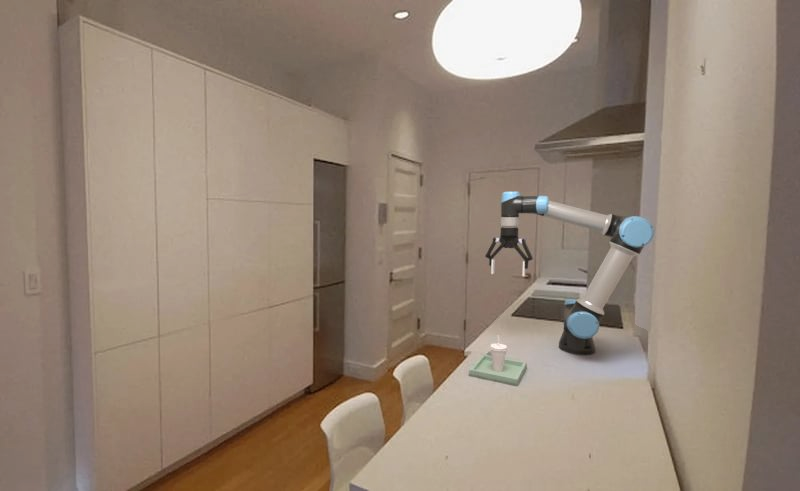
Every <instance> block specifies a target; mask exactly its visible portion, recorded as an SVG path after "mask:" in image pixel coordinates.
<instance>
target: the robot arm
mask: <svg viewBox="0 0 800 491" xmlns="http://www.w3.org/2000/svg"><path fill="white" fill-rule="evenodd" d="M500 204H501V206H500V208H501V209H500V211H501V212H500V226H501V227H500V235H499V236H500V237H497V236H496V237H493V239H492V243H491V244H490V247H489V248H488V250H487V251H486V254H485V258H486V259H488V260H489V264H488V265H489V267H491V269H490V272H491V273H490V274H491V275H494V274H495V271H496V270H495V267H496V264H495V263H496V259H495V256H496V255H497V254H499V252H500V251H501V250H502V249H503V248H504V249H514V250H515V251H516V252H517V253H518V254H519V256H520V257H521V258H522V259H523V261H522V275H521V276H522V277H526V270H527V269H528V268H529V261H533V259H534V258H533V255H532V253H531V251H530V249H529V247H528V245H527V242H526V240H527V238H525V237H524V238H519V221H520V219H519V218H520V217H519V216H520V214H528V215H529V214H532V215H537V216H541V217H544V218H545V217H546V218H549V219H553V220H556V221H560V222H563V223H568V224H571V225H574V226H578V227H582V228H585V229H590V230H593V231H596V232H600V233H601V234H602V236H606V237H609V238H611V239H610V240H609V245H610V248H609V250H608V252H607V254H606V256H605V257H604V259H603V261H602V263H601V264H600V266H599V268H598V270H597V272H596V273H595V275H594V277H593V278H592V280H591V282H590V284H589V286H588V288H587V289H586V291H585V292H584V294H583V296H582V297H581V298H578V299H577V298H566V299H565V300H564V304H563V305H564V312H563V316H564V317H563V332H562V334H561V336H560V338H559V340H558V348H559V349H560V350H561V351H564V352H566V353H569V354H574V355H582V356H583V355H584V356H586V355H587V356H588V355H593V354H595V353H596V352H595V351H596V346H595V342H594V338H593V337H594V336H595V335H597V333H599V329H600V323H601V321H602V319H603V317H604V316H605V310H604V307H605V305H607V302H608V300H609V299H610V297H611V296H612V293H613V292H614V290H615V289H616V286H617V285H618V283H619V281H620V280H621V278H622V277H623V275H624V274H625V272H626V270H627V268H628V266H629V264H630V263H631V261H632V259H633V258H634V257H636V256H640V254H641V252H642V251H643V250H644V247H645V246H647V245H648V244H650V242H652V240H653V238H654V237H655V228H654V226H653V224H652V223H651V222H650V221H649V220H648V219H646V218H644V217H642V216H639V215H633V216H632V215H630V216H629V215H627V216H626V215H617V214H613V213H610V214H603V213H599V212H596V211H592V210H588V209H584V208H579V207H575V206H572V205H568V204H564V203H561V202H556V201H553V200H550V198H549V196H547V195H528V196H527V195H526V196H525V195H521V194H520V192H519V191H504V192H502V194H501V202H500ZM498 242H499V243H500V245H498V247H497V248H496V249H495V250H494V248H495V247H496V244H497V243H498ZM519 242H520V244H521V245H522V247H523V250H524V251H523V250H522V248H520V246H519V245H518V244H519ZM493 250H494V252H493ZM492 252H493V253H492ZM524 252H525V253H524Z"/></svg>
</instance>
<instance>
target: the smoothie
mask: <svg viewBox="0 0 800 491" xmlns="http://www.w3.org/2000/svg"><path fill="white" fill-rule="evenodd" d="M489 348H490V351H491V354H492V363H493V370H494V371H496V372H502V371H503V366H504V360H505V359H506V353H507V350H508V347H507V345H506V344H503V343H500V335H498V334H497V343H491V344H490V346H489Z"/></svg>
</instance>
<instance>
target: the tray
mask: <svg viewBox="0 0 800 491" xmlns="http://www.w3.org/2000/svg"><path fill="white" fill-rule="evenodd" d="M527 364H528V362H527V361H521V360H515V359H510V358H505V360H504V366H503V371H502V372H496V371H494V370H493V363H492V356H489V355H487V354H481V356H479V358H478V359H477V360H476V361H475V362H474V364H472V366H471V367H470V368H469V369H468V376H469V377H473V378H478V379H481V380H486V381H491V382H496V383H501V384H504V385H509V386H514V387H518V386H519V384H520V381H521V380H522V378H523V376H524V374H525V373H526V370H527V369H528V368H527V367H528V365H527Z"/></svg>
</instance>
